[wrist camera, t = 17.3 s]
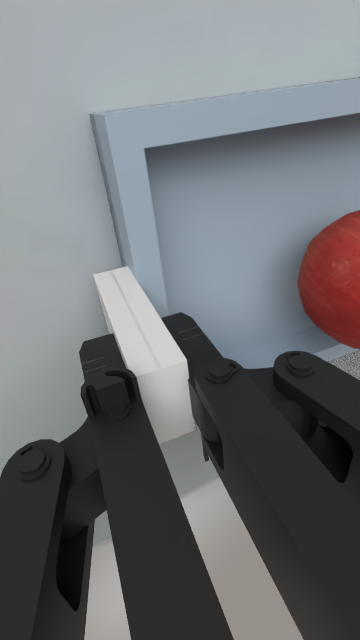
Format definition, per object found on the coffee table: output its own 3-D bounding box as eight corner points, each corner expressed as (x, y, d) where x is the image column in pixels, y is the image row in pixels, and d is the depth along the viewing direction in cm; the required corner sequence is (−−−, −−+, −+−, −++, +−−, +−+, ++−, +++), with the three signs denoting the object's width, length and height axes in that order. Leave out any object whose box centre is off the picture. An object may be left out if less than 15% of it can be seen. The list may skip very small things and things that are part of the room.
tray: (148, 382, 19) (164, 421, 17) (89, 113, 12) (104, 114, 10) (375, 306, 23) (415, 329, 21) (434, 67, 16) (507, 59, 13)
